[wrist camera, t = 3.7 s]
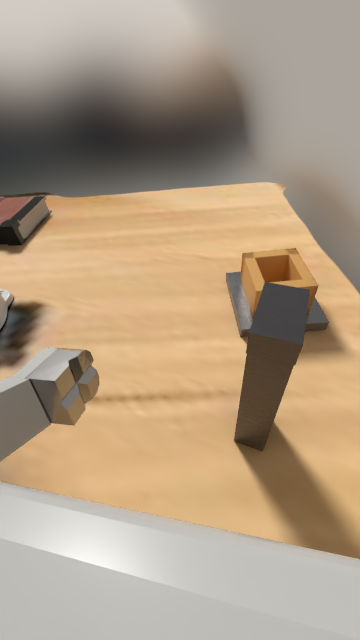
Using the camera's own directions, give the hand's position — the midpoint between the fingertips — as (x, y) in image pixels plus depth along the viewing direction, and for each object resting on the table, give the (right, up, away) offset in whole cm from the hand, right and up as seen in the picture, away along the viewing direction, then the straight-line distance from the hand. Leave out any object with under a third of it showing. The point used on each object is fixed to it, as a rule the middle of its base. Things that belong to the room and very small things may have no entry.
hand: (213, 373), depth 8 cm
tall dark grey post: (+7, -10, +22) cm, 25 cm away
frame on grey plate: (+13, +4, +36) cm, 38 cm away
